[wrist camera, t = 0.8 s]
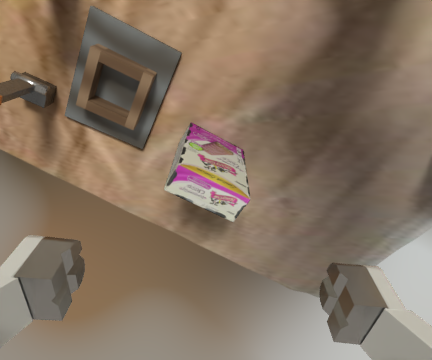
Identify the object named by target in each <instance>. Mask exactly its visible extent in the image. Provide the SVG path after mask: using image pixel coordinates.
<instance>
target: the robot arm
mask: <svg viewBox="0 0 432 360" xmlns="http://www.w3.org/2000/svg"><path fill="white" fill-rule="evenodd" d="M81 250H82V246H81V242H80V241H78V240H72V239H64V238H55V237H43V236H35V235H29V236H27V237H25V238H24V239H23V240H22V242H21V243H20V244H19V245H18V246H17V248H16V249H15V250H14V251H13V252H12V254H11V255H10V256H9V257H8V258H7V259H6V261H5V262H4V263H3V264H2V265H1V267H0V348H1V347H2V346H3V345H4V344H5V343H7V342H8V341H9V340H10V339H11V338H13V337H14V336H15V335H16V334H18V333H19V332H20V331H21V330H22V329H24V328H25V327H26V326H27V325H29V324H30V323H31V322H32V321H33V319H40V320H59V321H61V320H63V318H64V316H65V314H66V312H67V310H68V308H69V306H70V304H71V302H72V298H71V293H73V292H74V291H75V290H77V289H78V288H79V286H80V284H81V282H82V279H83V275H84V271H85V263H84V259H83V258H82V257H81V256H80V255H79V254H80V252H81ZM327 273H328V275H329V276H328V277H326V278H325V279H323V280H322V283H321V286H320V302H321V305H322V308H323V310H325V312H327V314H328V315H329V318H328V321H327V323H328V326H329V329H330V332H331V335H332V338H333V341H334V342H341V343H351V344H359V345H361V347H362V349H363V350H364V351H365V352H366V353H367V354H368V356H369V357H370V358H371V359H372V360H432V326H431V325H429V324H428V323H426V322H425V321H424V320H423V319H421V318H420V317H419V316H418V315H416V314H415V313H414V312H412V311H409V310H406V309H405V307H404V305H403V303H402V302H401V300H400V299H399V297H398V295H397V294H396V292H395V290H394V289H393V287H392V285H391V284H390V282H389V281H388V279H387V277H386V276H385V274H384V272H383V271H382V269H381V268H379V267H378V266H367V265H354V264H342V263H331V264H330V265H329V267H328V269H327Z"/></svg>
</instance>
